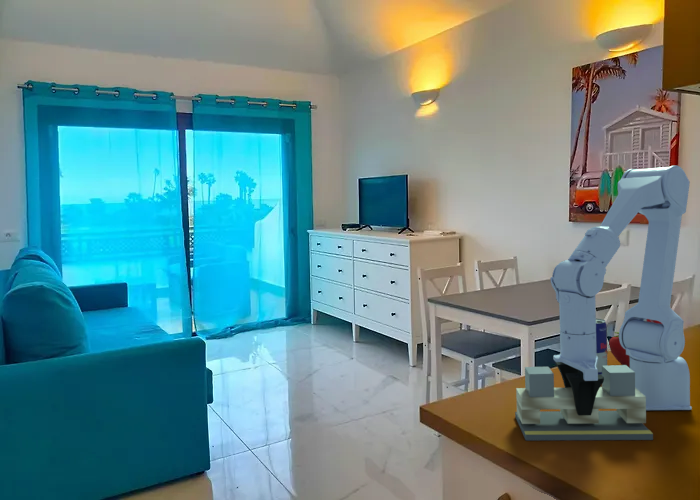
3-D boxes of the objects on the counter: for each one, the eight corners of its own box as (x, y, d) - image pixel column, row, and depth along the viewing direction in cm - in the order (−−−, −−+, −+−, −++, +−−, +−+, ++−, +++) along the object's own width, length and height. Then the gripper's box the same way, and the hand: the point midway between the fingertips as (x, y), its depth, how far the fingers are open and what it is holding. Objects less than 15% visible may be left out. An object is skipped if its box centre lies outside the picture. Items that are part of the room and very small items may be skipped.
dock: (629, 415, 101) (629, 410, 101) (652, 439, 91) (652, 433, 91) (515, 417, 104) (515, 411, 104) (525, 440, 94) (525, 434, 94)
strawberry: (641, 375, 122) (641, 330, 121) (605, 369, 127) (604, 326, 126) (649, 368, 127) (648, 324, 126) (613, 363, 132) (613, 320, 131)
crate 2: (626, 387, 98) (626, 365, 98) (635, 395, 94) (635, 372, 94) (602, 387, 98) (601, 365, 98) (610, 396, 94) (609, 372, 94)
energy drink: (610, 377, 122) (609, 323, 121) (583, 377, 123) (582, 323, 122) (604, 370, 127) (603, 317, 126) (578, 370, 128) (577, 318, 127)
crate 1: (548, 388, 99) (548, 366, 99) (554, 396, 96) (553, 373, 95) (525, 389, 100) (524, 367, 100) (529, 397, 96) (529, 374, 96)
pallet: (634, 411, 99) (634, 386, 98) (646, 423, 94) (645, 396, 93) (516, 412, 101) (516, 388, 101) (522, 423, 96) (521, 398, 96)
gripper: (544, 322, 104) (545, 393, 105) (564, 342, 89) (566, 425, 91) (584, 320, 103) (585, 393, 104) (611, 341, 88) (612, 425, 90)
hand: (579, 408), depth 97 cm, fingers closed on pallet, 5 cm apart
